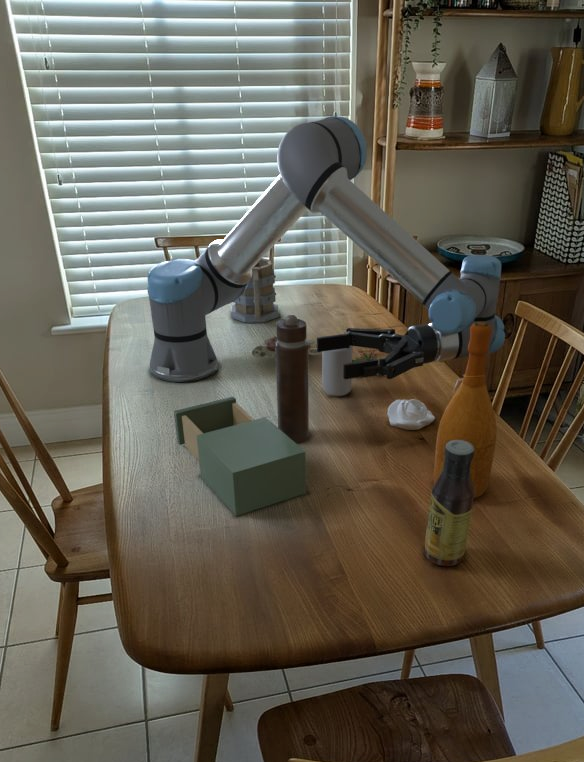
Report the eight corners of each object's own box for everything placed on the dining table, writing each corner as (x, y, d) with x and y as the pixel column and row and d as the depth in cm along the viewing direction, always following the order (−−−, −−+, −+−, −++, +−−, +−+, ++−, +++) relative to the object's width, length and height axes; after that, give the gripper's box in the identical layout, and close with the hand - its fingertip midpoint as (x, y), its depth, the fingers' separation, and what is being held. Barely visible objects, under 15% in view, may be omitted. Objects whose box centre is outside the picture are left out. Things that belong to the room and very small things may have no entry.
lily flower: (401, 374, 168) (403, 356, 165) (353, 382, 164) (354, 363, 162) (380, 355, 177) (381, 337, 174) (334, 361, 173) (334, 343, 171)
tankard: (231, 307, 204) (228, 252, 195) (277, 306, 205) (275, 251, 196) (231, 333, 187) (227, 274, 179) (280, 332, 189) (278, 274, 180)
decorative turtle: (243, 346, 181) (241, 326, 178) (306, 338, 185) (306, 319, 182) (262, 375, 167) (261, 354, 164) (330, 366, 171) (331, 345, 168)
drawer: (174, 439, 139) (171, 408, 136) (232, 424, 145) (230, 393, 141) (206, 474, 129) (202, 441, 125) (267, 456, 135) (265, 424, 131)
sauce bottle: (420, 544, 115) (431, 433, 103) (459, 543, 115) (475, 432, 104) (428, 571, 109) (441, 457, 98) (468, 569, 110) (486, 455, 99)
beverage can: (348, 399, 157) (349, 346, 150) (319, 396, 158) (319, 343, 151) (353, 387, 162) (355, 335, 155) (325, 384, 163) (325, 332, 156)
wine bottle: (492, 478, 131) (518, 316, 114) (482, 507, 124) (509, 338, 107) (438, 468, 134) (456, 309, 117) (426, 496, 126) (443, 329, 109)
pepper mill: (272, 433, 144) (268, 312, 130) (299, 425, 147) (297, 307, 133) (287, 446, 140) (284, 323, 126) (314, 438, 143) (314, 317, 129)
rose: (388, 388, 151) (434, 390, 151) (386, 408, 154) (433, 409, 154) (388, 410, 143) (437, 412, 143) (387, 430, 146) (435, 432, 145)
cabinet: (200, 476, 130) (196, 435, 126) (267, 457, 136) (265, 416, 132) (235, 516, 120) (232, 473, 116) (305, 493, 126) (305, 451, 122)
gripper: (459, 386, 137) (356, 403, 130) (401, 339, 155) (307, 352, 149) (464, 348, 132) (357, 364, 126) (403, 304, 151) (307, 316, 145)
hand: (330, 357), depth 137 cm, fingers open, 13 cm apart
